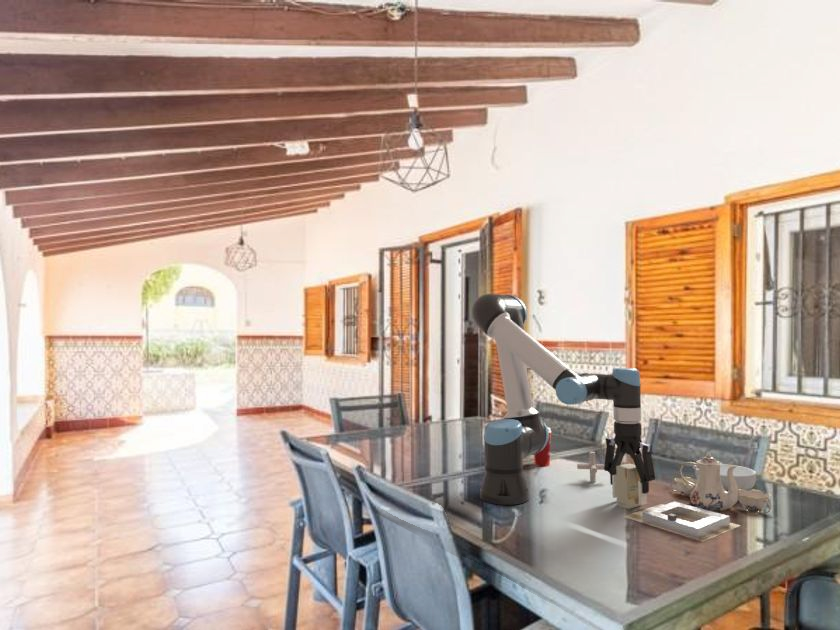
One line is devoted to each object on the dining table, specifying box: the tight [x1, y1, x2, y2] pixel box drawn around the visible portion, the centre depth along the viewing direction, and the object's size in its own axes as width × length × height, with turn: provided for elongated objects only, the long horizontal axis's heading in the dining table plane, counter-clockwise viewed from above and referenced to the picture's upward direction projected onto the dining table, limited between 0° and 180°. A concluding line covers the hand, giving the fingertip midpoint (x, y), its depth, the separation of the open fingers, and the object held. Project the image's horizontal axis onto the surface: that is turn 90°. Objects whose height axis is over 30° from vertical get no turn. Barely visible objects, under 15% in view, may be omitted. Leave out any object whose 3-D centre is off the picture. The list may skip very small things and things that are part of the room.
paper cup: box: [533, 426, 552, 467], centre depth 211 cm, size 8×8×14 cm
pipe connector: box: [576, 451, 605, 484], centre depth 187 cm, size 10×10×10 cm
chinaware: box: [670, 452, 772, 514], centre depth 159 cm, size 28×17×17 cm, turn 44°
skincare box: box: [616, 463, 641, 510], centre depth 159 cm, size 6×4×12 cm
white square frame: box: [641, 501, 731, 540], centre depth 143 cm, size 15×15×4 cm
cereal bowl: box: [694, 463, 757, 492], centre depth 174 cm, size 17×17×7 cm
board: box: [622, 503, 742, 542], centre depth 145 cm, size 18×22×1 cm
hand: (629, 500), depth 159 cm, fingers open, 8 cm apart
